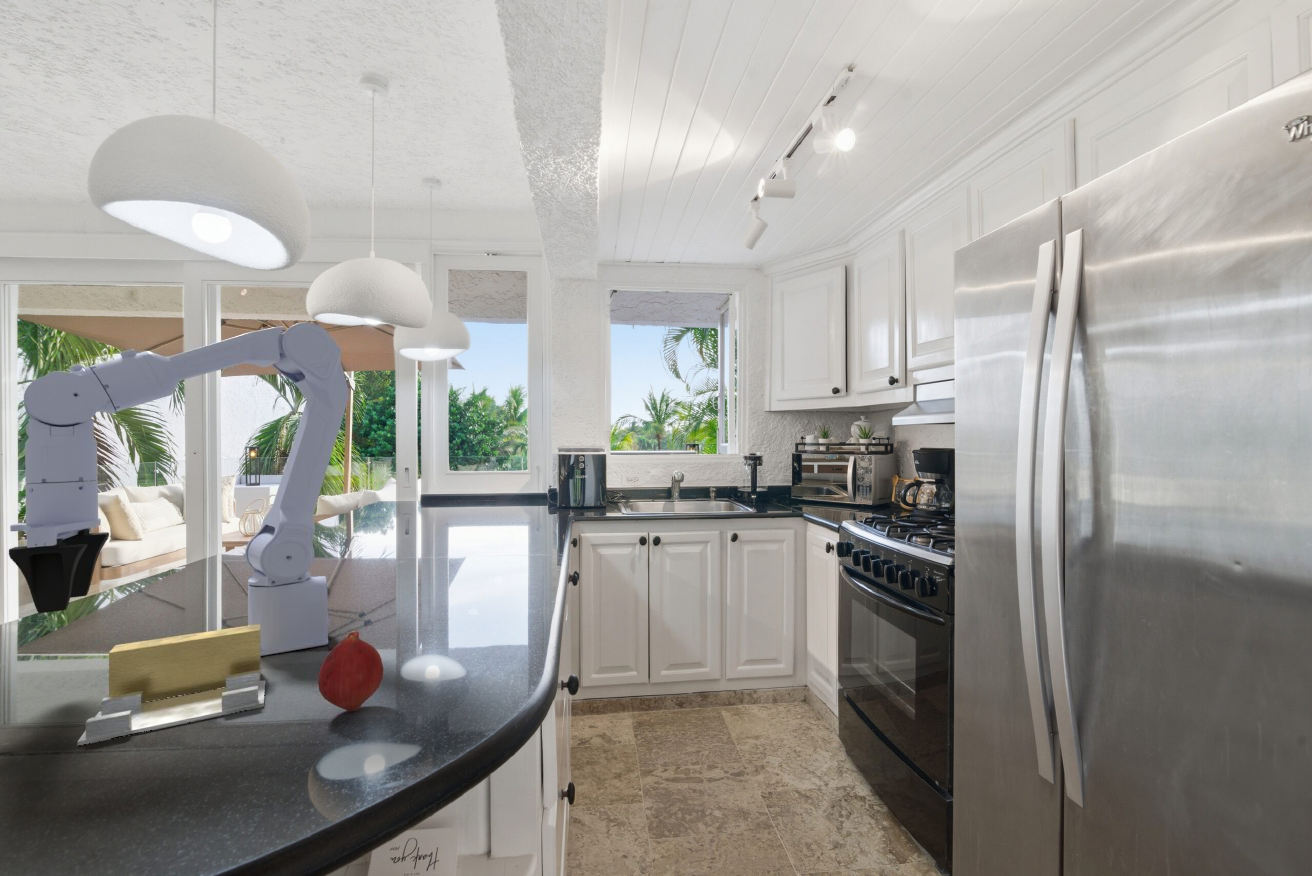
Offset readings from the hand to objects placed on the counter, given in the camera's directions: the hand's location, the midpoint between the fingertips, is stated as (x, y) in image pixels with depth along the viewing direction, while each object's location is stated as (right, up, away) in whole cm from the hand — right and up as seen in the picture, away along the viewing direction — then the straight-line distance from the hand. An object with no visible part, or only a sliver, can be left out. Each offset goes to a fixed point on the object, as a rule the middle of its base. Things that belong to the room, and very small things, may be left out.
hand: (64, 603), depth 66 cm
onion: (+36, -9, -7) cm, 37 cm away
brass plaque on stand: (+14, -10, 0) cm, 17 cm away
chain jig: (+18, -9, -6) cm, 21 cm away
